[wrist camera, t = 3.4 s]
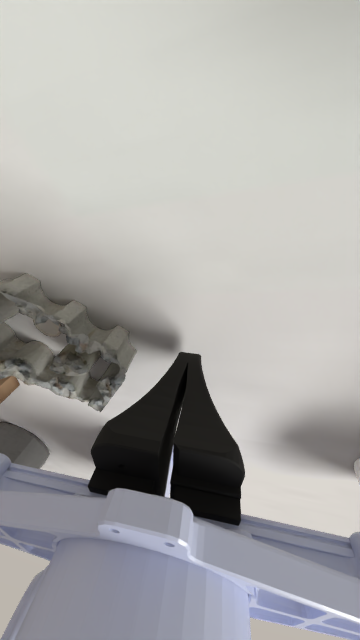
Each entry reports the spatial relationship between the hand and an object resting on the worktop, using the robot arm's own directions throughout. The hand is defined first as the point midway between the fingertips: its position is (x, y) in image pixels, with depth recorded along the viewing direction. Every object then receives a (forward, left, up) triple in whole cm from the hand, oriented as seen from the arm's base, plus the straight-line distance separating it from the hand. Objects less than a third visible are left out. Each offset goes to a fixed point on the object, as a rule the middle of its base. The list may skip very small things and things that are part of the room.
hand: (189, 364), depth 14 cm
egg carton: (0, +9, -2) cm, 10 cm away
